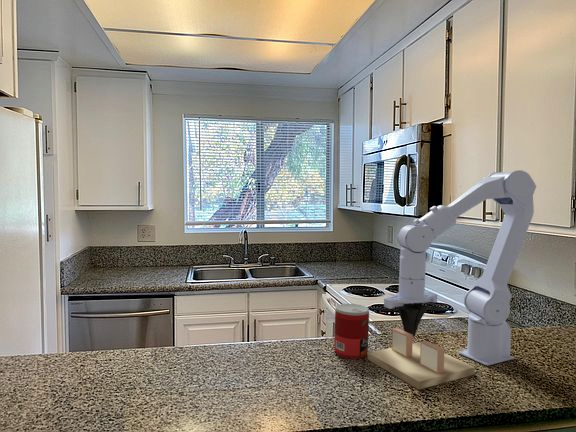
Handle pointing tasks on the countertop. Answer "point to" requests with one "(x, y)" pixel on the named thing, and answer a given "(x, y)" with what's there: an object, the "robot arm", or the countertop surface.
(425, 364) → the tile
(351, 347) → the canned food
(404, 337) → the tile
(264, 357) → the countertop surface
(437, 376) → the board
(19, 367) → the countertop surface
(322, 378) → the countertop surface
